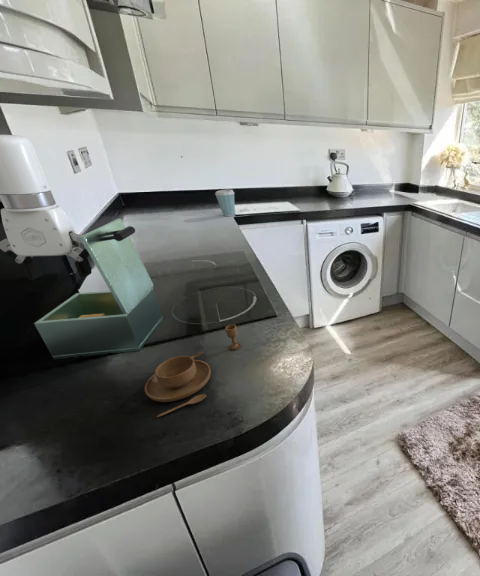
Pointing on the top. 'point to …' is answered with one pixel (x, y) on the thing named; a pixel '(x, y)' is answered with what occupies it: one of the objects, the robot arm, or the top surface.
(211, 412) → the top surface
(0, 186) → the robot arm
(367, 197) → the top surface
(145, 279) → the freezer lid
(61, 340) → the box
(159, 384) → the place setting
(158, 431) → the top surface
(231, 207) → the disposable coffee cup
